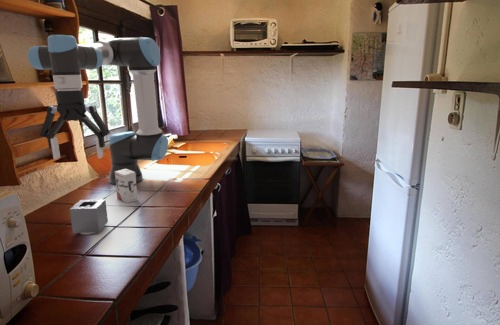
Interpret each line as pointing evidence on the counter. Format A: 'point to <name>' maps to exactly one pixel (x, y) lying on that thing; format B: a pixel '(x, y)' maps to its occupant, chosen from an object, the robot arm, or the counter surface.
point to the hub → (90, 233)
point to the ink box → (126, 185)
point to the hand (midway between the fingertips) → (79, 158)
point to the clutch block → (88, 216)
